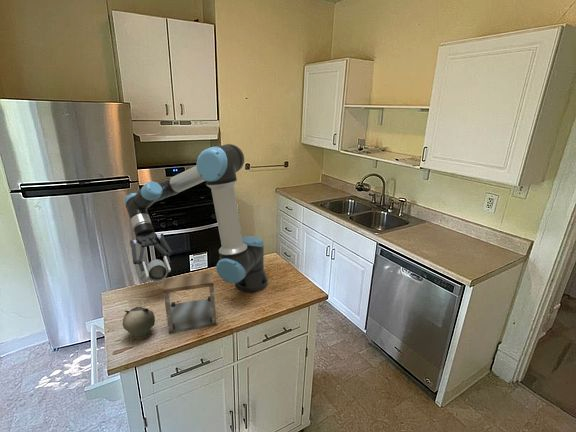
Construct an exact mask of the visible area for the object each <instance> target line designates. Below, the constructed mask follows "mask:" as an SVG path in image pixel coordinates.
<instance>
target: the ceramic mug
mask: <svg viewBox="0 0 576 432" xmlns="http://www.w3.org/2000/svg"><path fill="white" fill-rule="evenodd" d="M146 268H147V271H148V274H149V278H148V279H146V276H145V273H144V272H143V273H142V274H141V276H140V277H139V281H141V282H142V283H146V282H148V281H151V282H153V283H160V282H162V281H164V279H167V277H168V273H169V272H168V271H167V268H166V265H165V262H164V260H163V261H162V259H158V258H156V259H153V260H151V261H149V263H148V264H147V266H146Z"/></svg>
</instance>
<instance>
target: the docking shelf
mask: <svg viewBox="0 0 576 432" xmlns="http://www.w3.org/2000/svg"><path fill="white" fill-rule="evenodd" d="M202 288H209V296H207V298H204V299H203V298H202V299H197V300H196V299H195V300H191V301H190V300H189V301H184V302H177V303H176V301H170V293H174V292H175V293H176V292H182V291H190V290H196V289H202ZM162 291H163V298H164V306H165V313H166V321H167V327H168V329H167V330H168V334H175V333H181V332H186V331H191V330H196V329H198V330H199V329H203V328H208V327H213V326H217V324H218V323H217V312H216V311H217V310H216V299H215V284H214V278H213V272H205V273H198V274H191V275H184V276H182V275H181V276H176V277H175V276H174V277H169V278H167V277H166V278H165V279H164V280H163V289H162Z"/></svg>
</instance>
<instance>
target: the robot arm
mask: <svg viewBox="0 0 576 432" xmlns="http://www.w3.org/2000/svg"><path fill="white" fill-rule="evenodd" d="M244 164H245V155H244V152H243V150H242V149H241V148H240V147H239V146H237V145H236V144H231V143H227V144H223V145H222V144H221V145H216V146H212V147H209V148H205V149H204V150H202V151H201V152H200V154H199V155H198V157H197V159H196V164H195V166H192V167H190V168H188V169H187V170H184V171H183V172H180V173H177V174H175V175H174V176H172V177H170V178H168V179H167V178H166V179H165V180H163V181H160V182H155V181H152V180H151V181H150V180H149V181H147V182H146V183H145V184H144V185H143V186H142V187H141V188H140V189H139V190H138V192H132V193H129V194H128V195H126V196H125V197H124V204H125V209H126V211H127V213H128V217H129V220H130V222H131V226H132V228H133V232H134V236H135V237H136V238H135V239H133V240H130V241H129V245H130V246H129V247H130V248H131V255H132V263H133V265H138V267H139V269H140V271H141V272H143V274H144V273H145V278H146V279H148V278H149V274H148V271H147V266H146V262H145V261H143V257H144V252H145V248H147V247H154V248H155V249H157V250H158V252H159V253H160V254H161V255H162V256H163V262H164V264H165V266H166V268H167V272H168V273H170V272H171V270H172V269H171V267H170V266H171V265H170V264H171V260H170V259H171V258H170V256H171V255H172V253H173V251H172V249H171V247H170V246H169V244H168V243H167V241H166V239H165V235H164V233H160V234H157V233H156V232H155V229H154V226H153V224H152V221H151V218H150V215H149V212H148V209H150V207H151V206H152V205H153V204H154V203H156V202H158V201H162V200H164V199H167V198H169V197H172V196H176V195H178V194H179V193H181V192H184V191H186V190H188V189H190V188H192V187H195V186H197V185H199V184H201V183H203V182H205V185H206V187H208V188H210V189H211V196H212V200H213V201H212V202H213V206H214V211H215V217H216V221H217V222H216V223H217V228H218V233H219V238H220V244H221V247H220V248H219V249H218V254H219V260H218V261H217V263H216V268H215V269H216V273H217V274H218V276H219V277H220V278H221V279H222V280H223V281H225V282H226V283H229V284H234V285H235V288H236V289H237V290H239V291H240V292H244V293H256V292H259V291H262V290H264V289H265V288H267V286H268V284H269V282H268V280H269V279H268V276H267V273H266V270H265V264H264V263H265V262H264V258H265V256H264V250H265V245H264V240H263V239H262V238H261V237H259V236H255V235H242V229H241V222H240V217H239V211H238V205H237V203H238V202H237V199H236V198H237V197H236V192H235V186H234V185H235V184H236V182H237V181H238V179H237V172H239V171H240V170H241V169H242V168H243V166H244ZM157 239H158V240H159V241H160V243H161V244H162V246H163V247H162V246H161V244H160V243H159V242H158V241H157ZM137 244H138V245H140V251H139V257H138V259H137V251H136V249H137V247H136V245H137Z"/></svg>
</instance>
